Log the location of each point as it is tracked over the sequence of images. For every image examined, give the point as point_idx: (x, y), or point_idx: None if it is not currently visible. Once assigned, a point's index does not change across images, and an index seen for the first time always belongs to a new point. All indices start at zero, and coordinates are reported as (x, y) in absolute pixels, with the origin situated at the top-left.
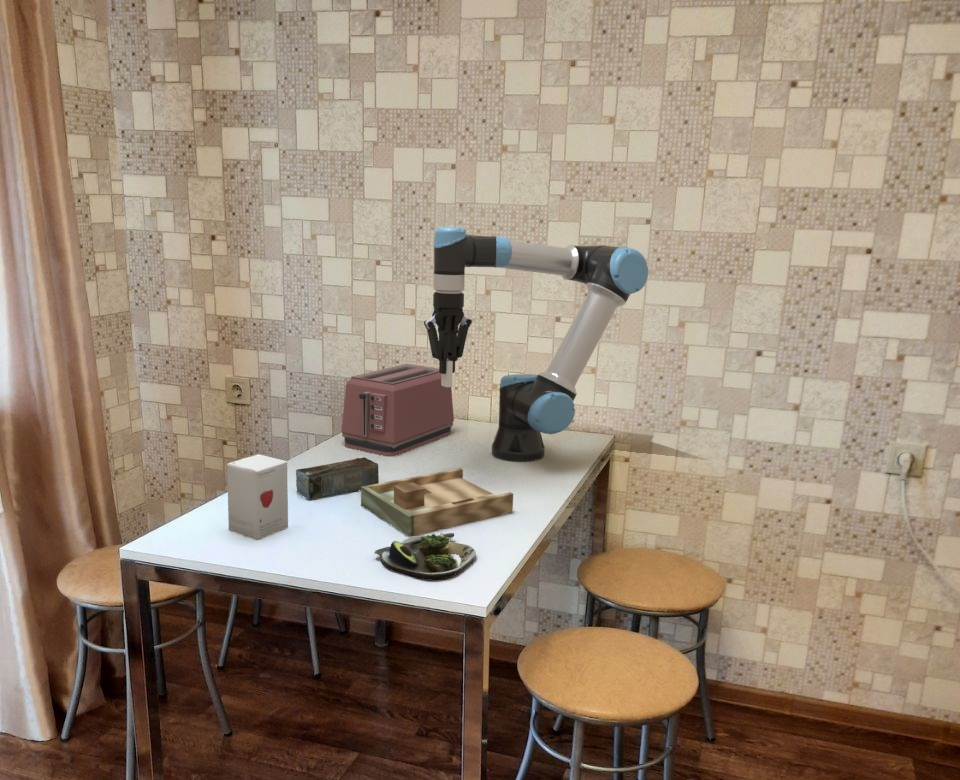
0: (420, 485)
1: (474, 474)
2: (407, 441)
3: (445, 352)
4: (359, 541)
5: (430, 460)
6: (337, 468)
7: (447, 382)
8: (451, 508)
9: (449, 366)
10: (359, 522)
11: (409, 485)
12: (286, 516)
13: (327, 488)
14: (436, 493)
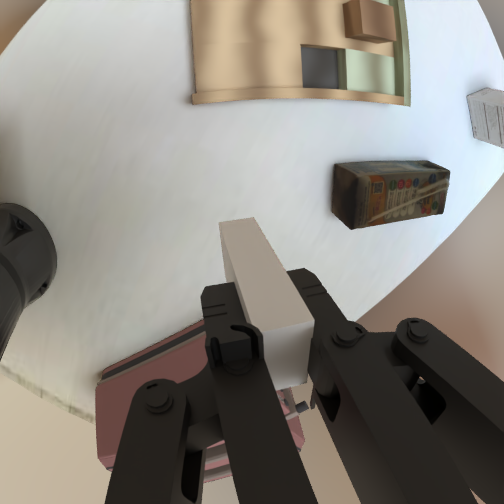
0: (300, 87)
1: (129, 159)
2: (202, 333)
3: (380, 389)
4: (428, 9)
5: (178, 268)
6: (413, 187)
7: (259, 230)
8: None
9: (277, 294)
10: (413, 51)
11: (374, 25)
12: (478, 97)
13: (415, 165)
14: (295, 35)
